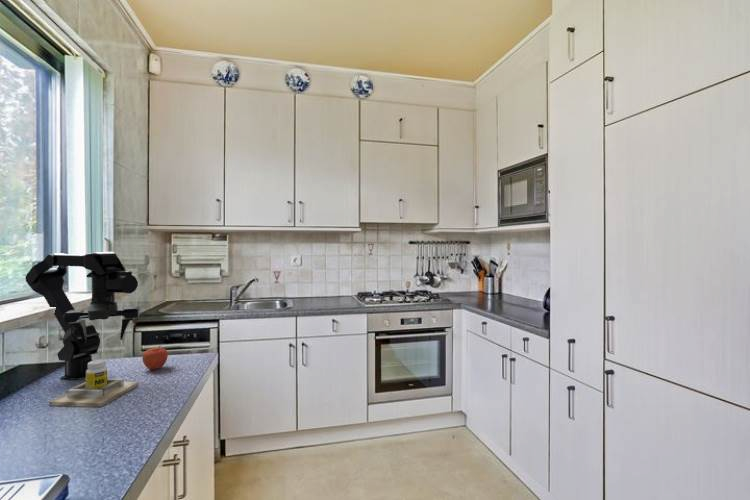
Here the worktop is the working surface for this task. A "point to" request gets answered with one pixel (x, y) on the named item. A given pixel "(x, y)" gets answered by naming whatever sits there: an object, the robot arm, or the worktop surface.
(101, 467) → the worktop surface
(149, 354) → the apple
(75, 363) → the robot arm
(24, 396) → the worktop surface
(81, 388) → the carrier plate
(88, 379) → the supplement bottle
